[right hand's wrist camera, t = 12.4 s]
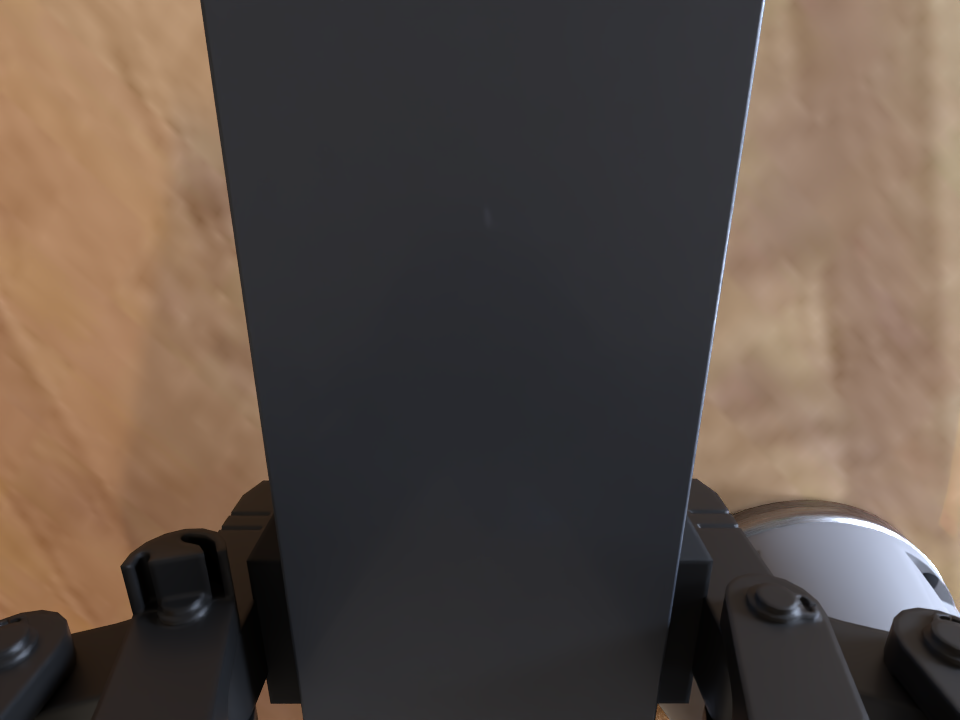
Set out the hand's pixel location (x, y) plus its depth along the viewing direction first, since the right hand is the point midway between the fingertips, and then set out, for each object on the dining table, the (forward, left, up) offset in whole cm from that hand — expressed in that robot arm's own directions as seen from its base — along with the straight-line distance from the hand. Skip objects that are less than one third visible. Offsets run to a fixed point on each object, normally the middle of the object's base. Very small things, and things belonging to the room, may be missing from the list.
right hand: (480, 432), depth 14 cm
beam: (0, -11, 0) cm, 11 cm away
